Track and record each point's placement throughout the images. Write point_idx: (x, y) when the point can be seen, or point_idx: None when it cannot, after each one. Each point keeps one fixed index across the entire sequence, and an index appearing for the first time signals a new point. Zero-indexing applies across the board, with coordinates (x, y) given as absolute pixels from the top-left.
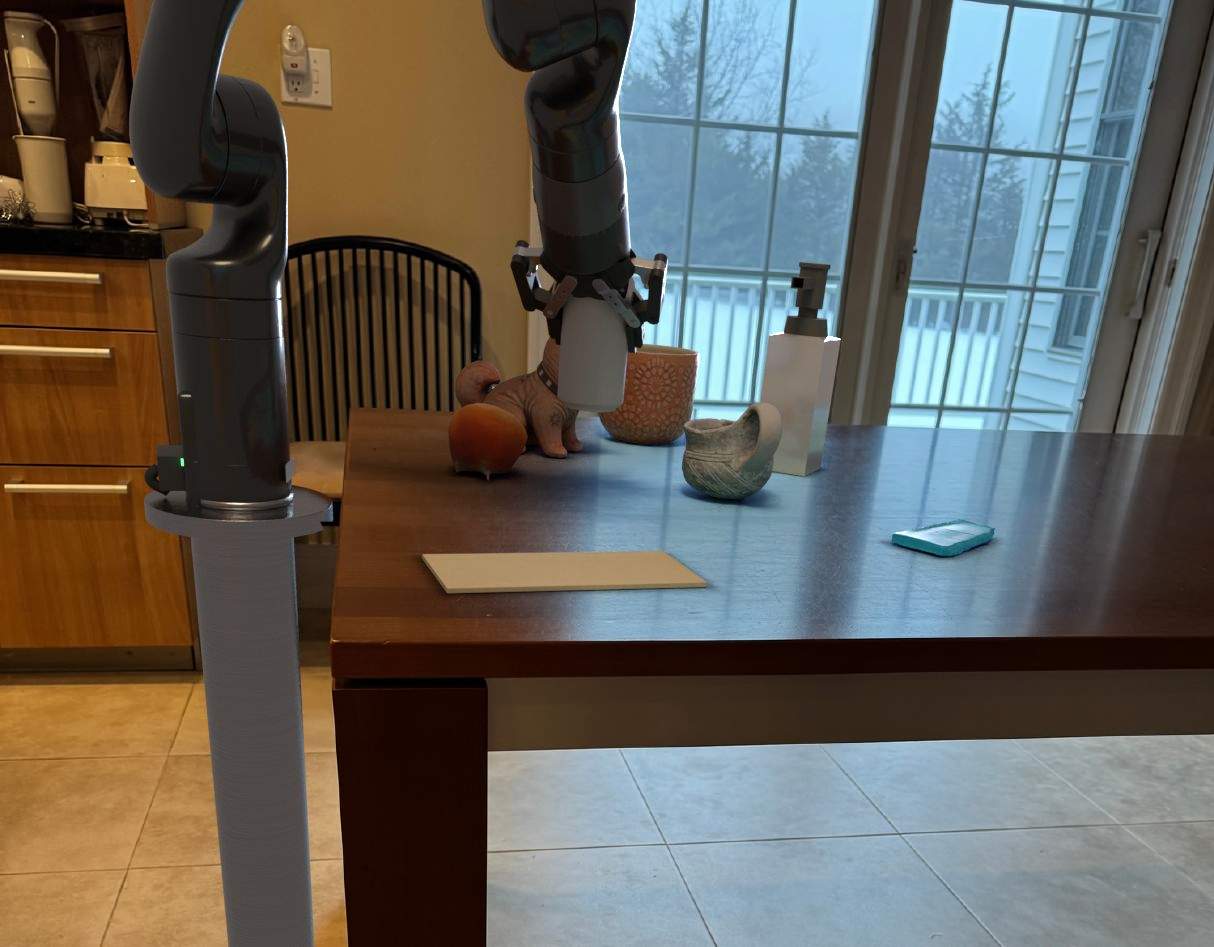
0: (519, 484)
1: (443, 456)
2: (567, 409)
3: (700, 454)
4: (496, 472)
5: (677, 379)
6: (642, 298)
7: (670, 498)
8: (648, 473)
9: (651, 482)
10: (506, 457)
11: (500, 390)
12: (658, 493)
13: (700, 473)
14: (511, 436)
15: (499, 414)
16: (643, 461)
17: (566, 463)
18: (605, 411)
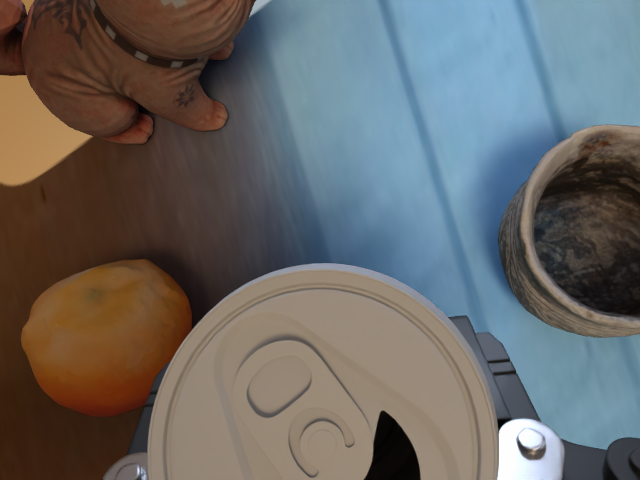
0: None
1: (38, 240)
2: (198, 63)
3: (572, 320)
4: None
5: None
6: (562, 465)
7: (490, 330)
8: (389, 145)
9: (417, 216)
10: None
11: (45, 64)
12: (458, 302)
13: (563, 329)
14: None
15: (124, 369)
16: (350, 52)
17: (240, 156)
18: (393, 444)
